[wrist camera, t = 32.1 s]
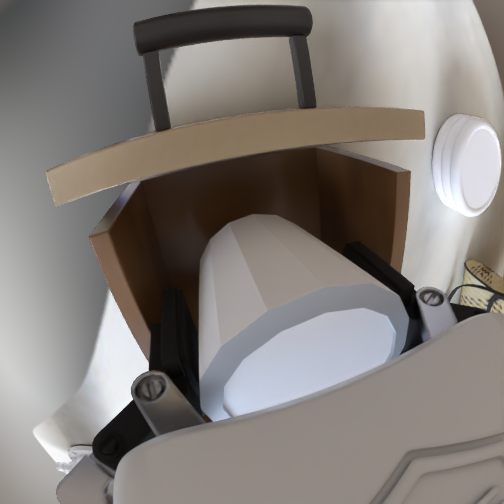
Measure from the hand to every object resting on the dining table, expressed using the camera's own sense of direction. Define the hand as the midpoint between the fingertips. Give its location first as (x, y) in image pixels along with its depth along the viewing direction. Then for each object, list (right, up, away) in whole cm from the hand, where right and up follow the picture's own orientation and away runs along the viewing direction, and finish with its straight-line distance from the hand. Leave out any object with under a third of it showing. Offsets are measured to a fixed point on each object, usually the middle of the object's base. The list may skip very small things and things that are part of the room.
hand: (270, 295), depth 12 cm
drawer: (-2, +5, +6) cm, 8 cm away
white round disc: (+20, +11, +10) cm, 25 cm away
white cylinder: (-1, +1, +2) cm, 2 cm away
